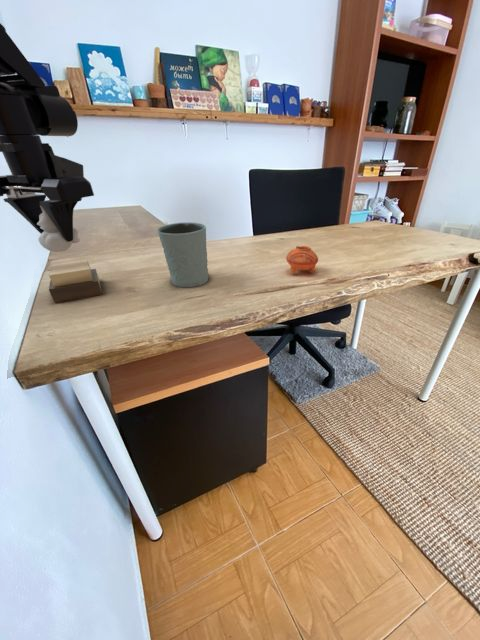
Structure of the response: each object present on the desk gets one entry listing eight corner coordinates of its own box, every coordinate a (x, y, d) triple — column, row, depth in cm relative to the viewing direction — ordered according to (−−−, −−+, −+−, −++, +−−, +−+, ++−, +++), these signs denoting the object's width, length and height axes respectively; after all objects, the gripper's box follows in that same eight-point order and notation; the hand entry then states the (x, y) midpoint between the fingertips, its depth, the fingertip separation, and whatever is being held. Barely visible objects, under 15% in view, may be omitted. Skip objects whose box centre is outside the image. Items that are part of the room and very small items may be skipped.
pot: (278, 267, 76) (285, 240, 72) (305, 271, 78) (313, 245, 75) (289, 277, 69) (296, 247, 66) (318, 281, 72) (326, 253, 68)
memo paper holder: (102, 294, 64) (93, 269, 61) (54, 303, 60) (43, 277, 57) (99, 280, 70) (91, 257, 67) (56, 288, 67) (46, 264, 64)
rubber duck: (47, 249, 56) (27, 203, 52) (85, 244, 58) (69, 200, 54) (42, 257, 52) (19, 208, 48) (82, 252, 54) (65, 204, 50)
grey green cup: (209, 271, 75) (203, 221, 68) (214, 286, 67) (208, 230, 60) (168, 275, 73) (157, 224, 66) (168, 291, 65) (156, 234, 58)
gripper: (104, 134, 48) (130, 233, 57) (29, 137, 54) (63, 226, 63) (39, 133, 40) (81, 249, 49) (-41, 136, 46) (10, 239, 55)
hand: (59, 239), depth 54 cm, fingers closed on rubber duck, 5 cm apart
